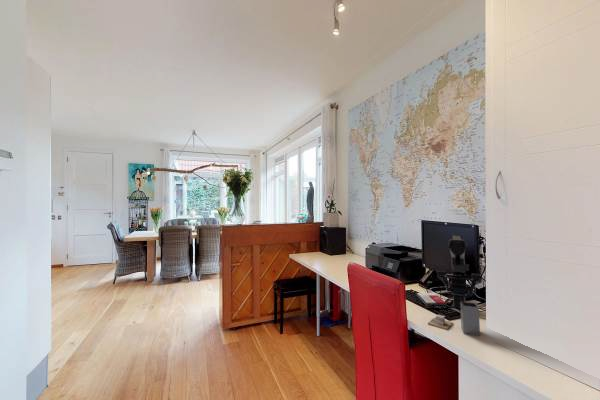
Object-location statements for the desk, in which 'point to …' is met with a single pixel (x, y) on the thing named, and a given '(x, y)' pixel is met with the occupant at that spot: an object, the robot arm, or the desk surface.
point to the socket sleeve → (470, 318)
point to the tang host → (440, 322)
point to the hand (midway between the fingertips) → (459, 294)
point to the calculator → (430, 299)
